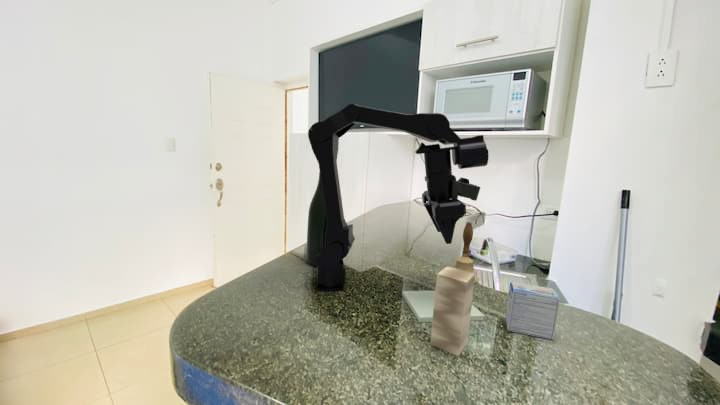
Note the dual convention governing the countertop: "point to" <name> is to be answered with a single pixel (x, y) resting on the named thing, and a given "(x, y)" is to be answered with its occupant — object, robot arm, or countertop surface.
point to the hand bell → (466, 252)
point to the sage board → (430, 305)
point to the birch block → (452, 309)
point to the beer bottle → (316, 225)
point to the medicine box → (532, 310)
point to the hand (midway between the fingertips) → (444, 237)
